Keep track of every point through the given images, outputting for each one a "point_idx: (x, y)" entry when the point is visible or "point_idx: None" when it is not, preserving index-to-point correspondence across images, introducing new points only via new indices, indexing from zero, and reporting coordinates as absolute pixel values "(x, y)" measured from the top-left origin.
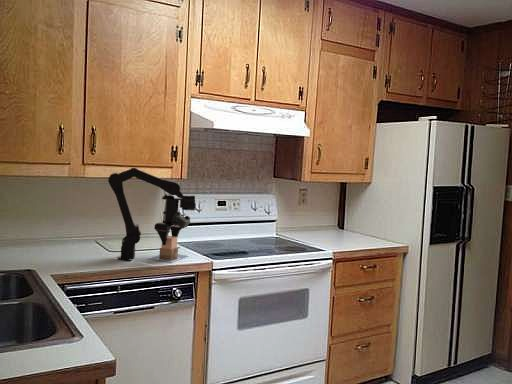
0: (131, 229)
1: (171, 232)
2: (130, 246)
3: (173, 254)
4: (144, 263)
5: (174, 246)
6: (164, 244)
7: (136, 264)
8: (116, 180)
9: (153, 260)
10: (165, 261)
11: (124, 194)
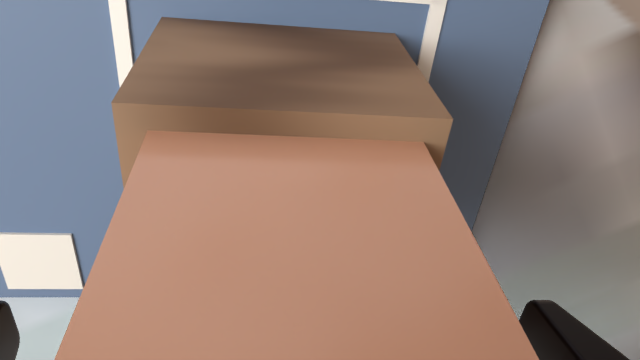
0: None
1: None
2: None
3: (334, 65)
4: (554, 253)
5: (275, 163)
6: (557, 323)
7: (619, 284)
8: None
9: (471, 227)
10: (467, 87)
11: None
